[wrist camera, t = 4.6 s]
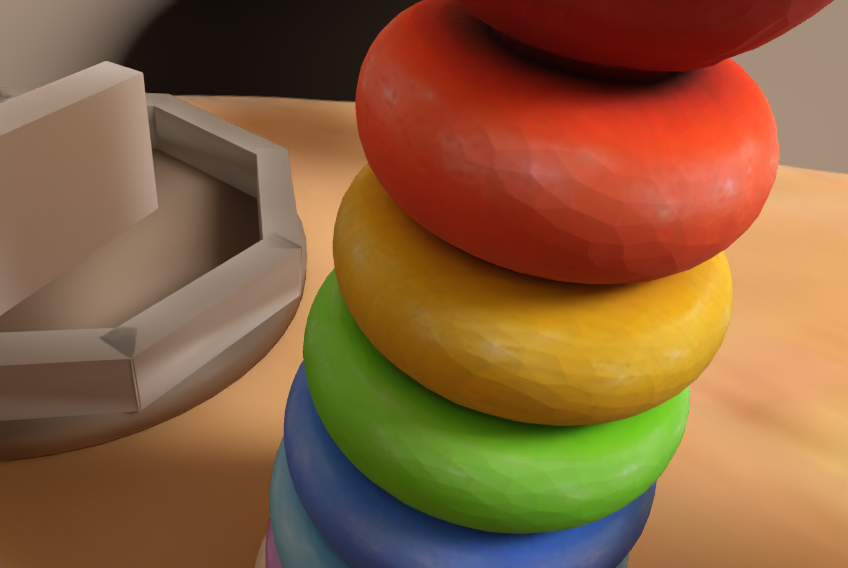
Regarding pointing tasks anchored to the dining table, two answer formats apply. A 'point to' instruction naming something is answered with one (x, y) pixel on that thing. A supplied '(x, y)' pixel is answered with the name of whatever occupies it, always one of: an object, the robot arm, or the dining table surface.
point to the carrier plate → (159, 294)
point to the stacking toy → (523, 281)
